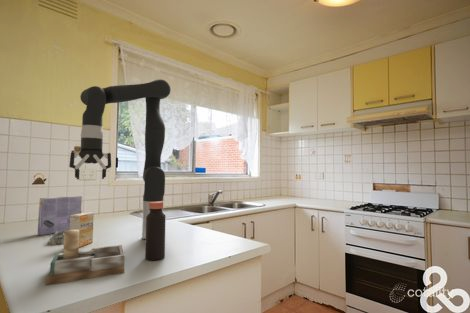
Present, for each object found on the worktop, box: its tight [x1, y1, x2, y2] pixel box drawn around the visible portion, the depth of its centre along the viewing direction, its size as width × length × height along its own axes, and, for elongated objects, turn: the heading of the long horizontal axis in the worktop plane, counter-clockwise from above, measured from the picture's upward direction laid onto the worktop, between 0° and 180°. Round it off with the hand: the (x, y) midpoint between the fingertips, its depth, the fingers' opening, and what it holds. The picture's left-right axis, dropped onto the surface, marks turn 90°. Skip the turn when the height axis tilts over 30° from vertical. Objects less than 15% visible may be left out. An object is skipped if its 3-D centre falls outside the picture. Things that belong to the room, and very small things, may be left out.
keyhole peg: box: [62, 230, 80, 260], centre depth 82 cm, size 6×6×11 cm
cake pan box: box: [37, 195, 83, 236], centre depth 134 cm, size 19×5×18 cm, turn 144°
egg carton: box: [49, 231, 64, 245], centre depth 116 cm, size 11×8×4 cm
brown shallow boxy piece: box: [45, 244, 125, 286], centre depth 84 cm, size 20×16×5 cm
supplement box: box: [70, 212, 95, 248], centre depth 111 cm, size 8×5×13 cm, turn 168°
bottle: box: [144, 201, 167, 262], centre depth 95 cm, size 7×7×20 cm
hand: (90, 179), depth 102 cm, fingers open, 8 cm apart
